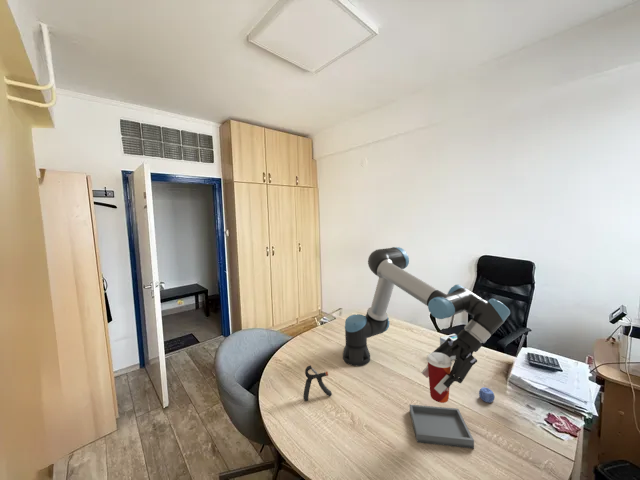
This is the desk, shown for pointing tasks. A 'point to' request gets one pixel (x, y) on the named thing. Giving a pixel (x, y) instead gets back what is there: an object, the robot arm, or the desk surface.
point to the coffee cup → (438, 374)
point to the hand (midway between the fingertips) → (430, 382)
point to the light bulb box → (444, 338)
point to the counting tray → (440, 426)
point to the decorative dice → (486, 395)
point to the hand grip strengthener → (319, 379)
